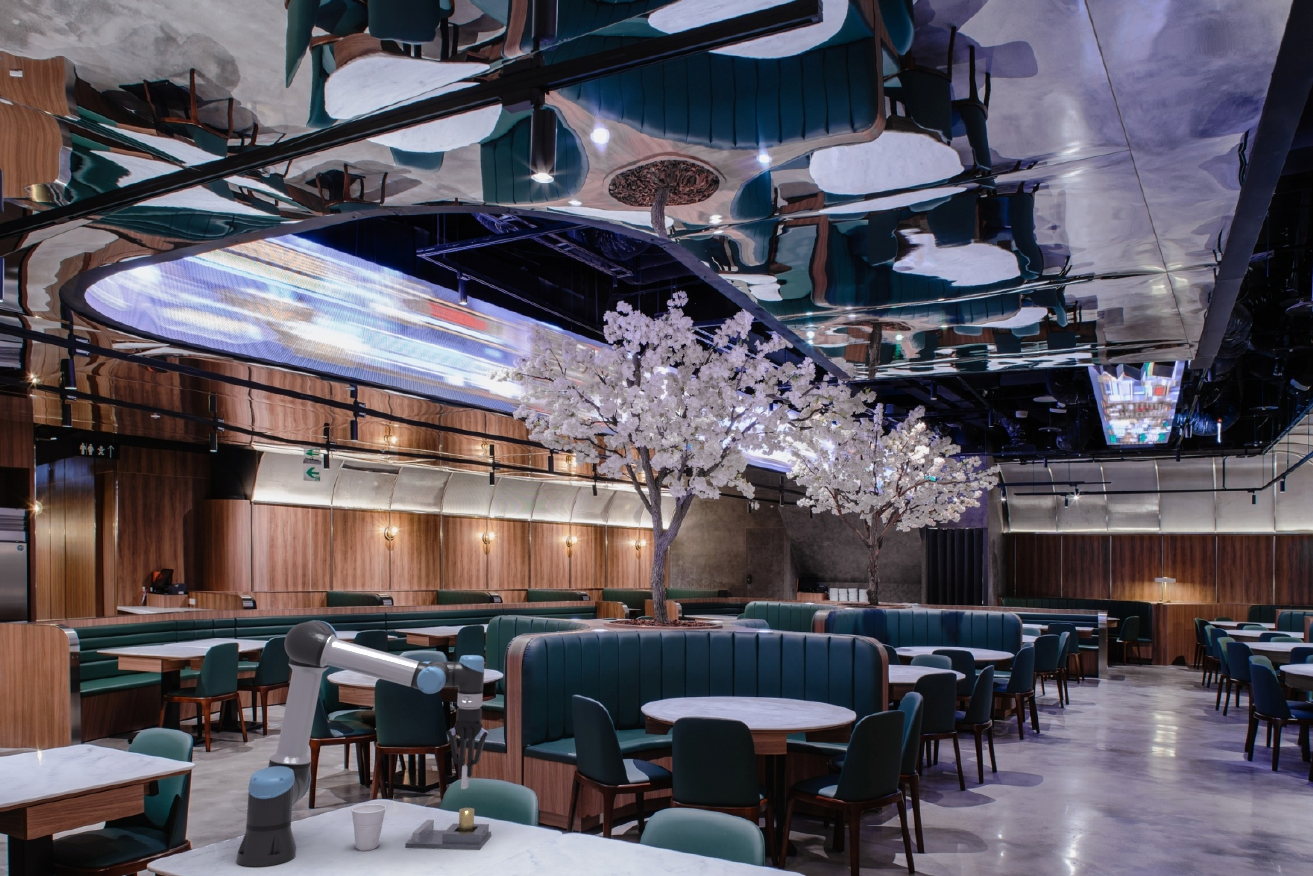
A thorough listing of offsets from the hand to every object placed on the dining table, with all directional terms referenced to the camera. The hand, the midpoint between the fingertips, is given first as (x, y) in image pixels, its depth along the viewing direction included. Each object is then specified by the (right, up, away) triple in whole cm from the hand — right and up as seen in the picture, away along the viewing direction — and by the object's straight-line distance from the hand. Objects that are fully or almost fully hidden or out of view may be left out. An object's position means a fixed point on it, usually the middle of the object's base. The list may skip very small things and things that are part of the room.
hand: (464, 788), depth 270 cm
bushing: (+1, -13, -4) cm, 14 cm away
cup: (-26, -14, -10) cm, 31 cm away
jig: (-4, -15, -4) cm, 16 cm away
